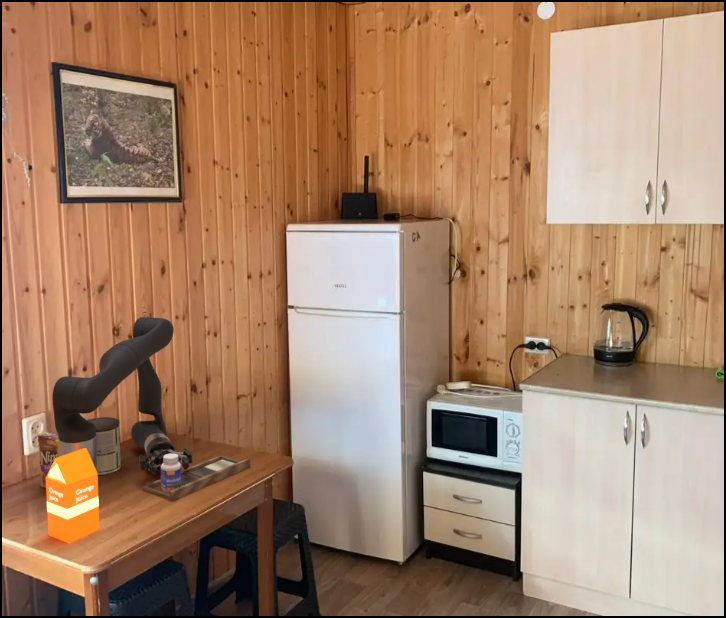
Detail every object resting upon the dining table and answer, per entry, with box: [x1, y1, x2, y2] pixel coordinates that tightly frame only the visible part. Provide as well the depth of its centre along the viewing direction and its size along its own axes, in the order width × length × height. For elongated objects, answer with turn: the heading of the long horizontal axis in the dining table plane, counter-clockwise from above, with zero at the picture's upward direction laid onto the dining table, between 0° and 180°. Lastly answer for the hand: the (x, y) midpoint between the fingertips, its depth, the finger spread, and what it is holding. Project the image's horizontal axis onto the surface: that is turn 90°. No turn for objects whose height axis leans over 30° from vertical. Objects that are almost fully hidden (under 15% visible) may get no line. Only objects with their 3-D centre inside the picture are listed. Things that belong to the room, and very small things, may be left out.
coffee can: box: [87, 416, 122, 476], centre depth 215 cm, size 10×10×14 cm
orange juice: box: [45, 448, 100, 544], centre depth 175 cm, size 8×9×20 cm
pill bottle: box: [160, 454, 182, 494], centre depth 201 cm, size 5×5×10 cm
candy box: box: [37, 430, 59, 489], centre depth 200 cm, size 9×4×15 cm, turn 60°
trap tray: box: [141, 454, 251, 502], centre depth 210 cm, size 30×12×2 cm, turn 146°
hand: (170, 468), depth 201 cm, fingers open, 8 cm apart
